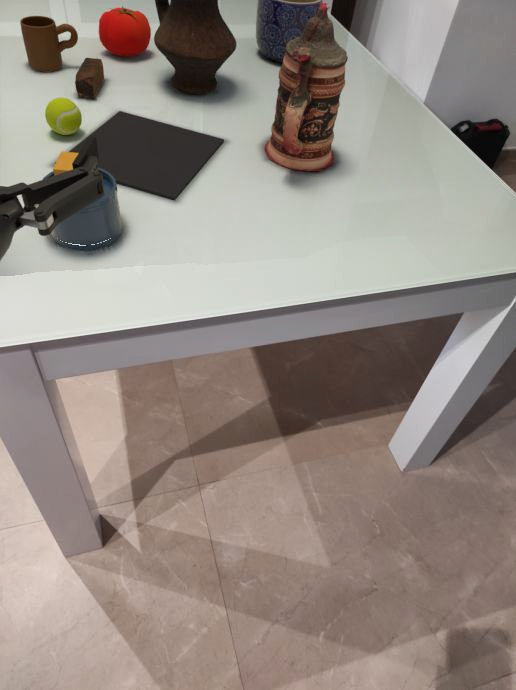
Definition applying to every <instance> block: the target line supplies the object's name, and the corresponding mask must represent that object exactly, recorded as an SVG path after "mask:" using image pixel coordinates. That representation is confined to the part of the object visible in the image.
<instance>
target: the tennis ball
mask: <svg viewBox="0 0 516 690" xmlns="http://www.w3.org/2000/svg"><path fill="white" fill-rule="evenodd" d="M44 111H45V112H44V116H45V120H46V123H47V125H48V126H49V128H50V129H51V130H52V131H54V132H55V133H57V134H59V135H62V136H69V135H73V134H75V133H76V132H78V131H79V129H80V127H81V126H82V123H83V121H82V120H83V117H82V112H81V109H80V107H79V106H78V105H77V104H76V103H75V102H74V101H73V100H71V99H69V98H66V97H55V98H53V99H51V100H50V101H49V102H48V103H47V105H46V107H45V110H44Z"/></svg>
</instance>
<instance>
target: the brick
mask: <svg viewBox="0 0 516 690" xmlns="http://www.w3.org/2000/svg"><path fill="white" fill-rule="evenodd" d="M104 81H105V70H104V64H103V61H102V59H101V58H95V57H85V58H84V60H83V62H82V63H81V65H80V67H79V68H78V70H77V71H76V74H75V80H74V84H75V90H76V93H77V96H78V97H79V98H85V97H86V98H90V99H94V98H95V97H97V95H98V93H99V91H100V89H101V87H102V85H103V83H104Z"/></svg>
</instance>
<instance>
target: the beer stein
mask: <svg viewBox="0 0 516 690" xmlns="http://www.w3.org/2000/svg"><path fill="white" fill-rule="evenodd" d="M327 5H328V3H327V2H323V3H321V5H320V8H319V10H318V14H317V15H316V17H313V18H310V21H307V24H306V26H305V28H304V30H303V33H302V35H301V36H300V37H297V38H295V39H293V40H291V41H288V43H287V45H286V53H285V56H284V59H283V63H282V64H281V67H280V68H279V70H278V79H279V81H278V84H279V85H278V88H277V97H276V101H275V114H274V120H273V122H272V124H271V128H270V131H271V136H270V138H269V140H268V141H267V142H266V144H264V151H265V153H266V156H267V158H268V160H270V161H272V162H274V163H275V164H277V165H280V166H281V167H284V168H289V169H291V170H293V171H297V172H298V171H303V172H322V170H323V169H326V168H329V166H330V165H332V164H333V163H334V161H336V160H335V157H334V156H335V155H334V154H333V153H334V151H333V150H332V144H333V141H334V139H335V132H334V128H335V124H336V123H335V122H336V120H337V117H338V113H339V107H340V105H341V103H340V98H341V95H342V91H343V89H344V88H345V86H346V65H347V62H348V59H349V56H347V51H346V50H345V49H344V48H343V47H342V46H341V45H340V44H339V43H338V42H337V40H336V38H335V29H334V23H333V21H332V20H331V18H330V17H329V15H328V10H329V9H330V6H327Z"/></svg>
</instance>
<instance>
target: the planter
mask: <svg viewBox="0 0 516 690" xmlns="http://www.w3.org/2000/svg"><path fill="white" fill-rule="evenodd" d="M321 3H324V0H257V5H256V16H255V41H256V45H257V47H258V49H259V51H260V52H261V54H262V55H263V56H264V57H265V58H267V59H269V60H271V61H274V62H276V63H280V64H281V63H282V64H283V59H284V56H285V53H286V45H287V43H288V41H291V40H293V39H295V38H297V37H300V36H301V35H302V33H303V30H304V28H305V26H306V24H307V21H310V18H313V17H316V15H317V14H318V10H319V8H320V5H321Z"/></svg>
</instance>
